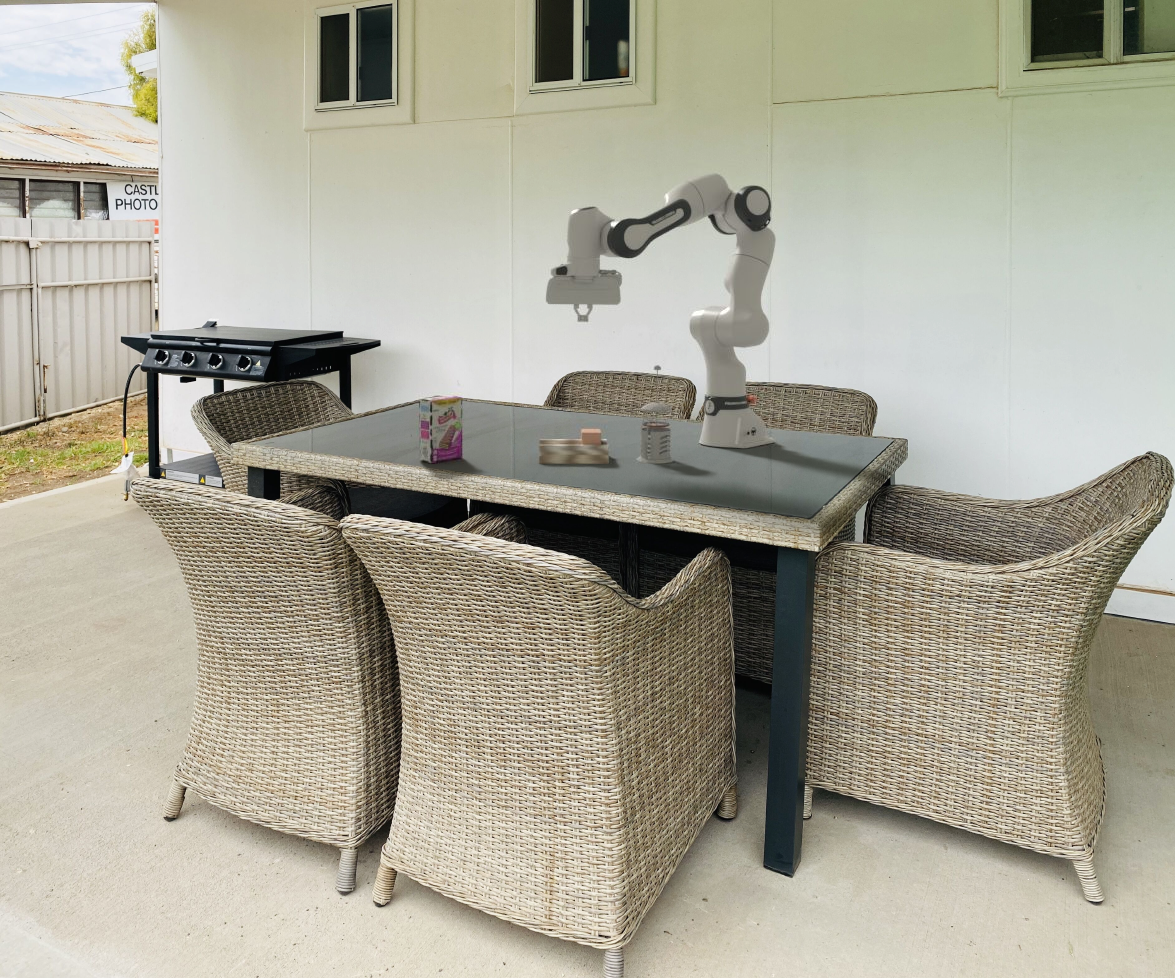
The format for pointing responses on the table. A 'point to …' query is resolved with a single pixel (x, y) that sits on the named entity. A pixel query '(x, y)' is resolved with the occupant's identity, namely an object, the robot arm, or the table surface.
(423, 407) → the candy bar box
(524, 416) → the table surface
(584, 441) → the block
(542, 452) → the chute
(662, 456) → the french press
